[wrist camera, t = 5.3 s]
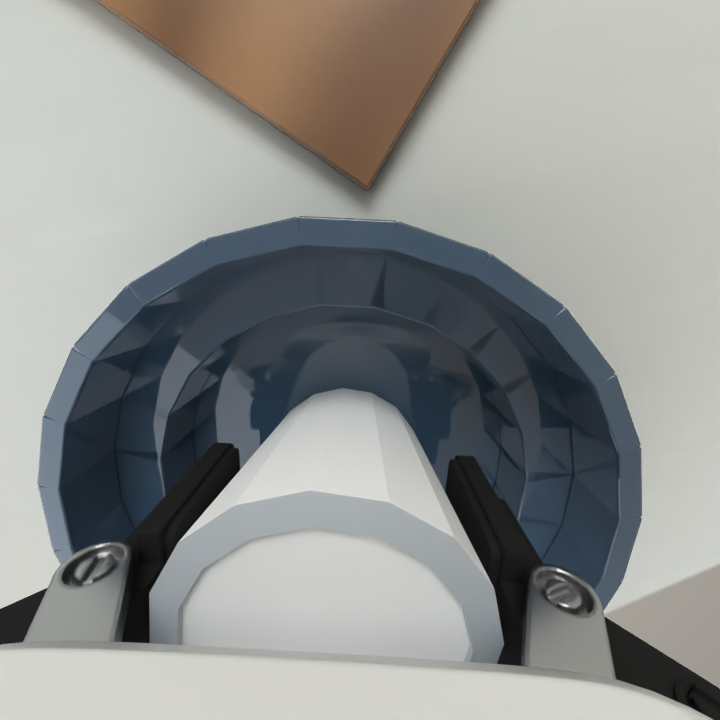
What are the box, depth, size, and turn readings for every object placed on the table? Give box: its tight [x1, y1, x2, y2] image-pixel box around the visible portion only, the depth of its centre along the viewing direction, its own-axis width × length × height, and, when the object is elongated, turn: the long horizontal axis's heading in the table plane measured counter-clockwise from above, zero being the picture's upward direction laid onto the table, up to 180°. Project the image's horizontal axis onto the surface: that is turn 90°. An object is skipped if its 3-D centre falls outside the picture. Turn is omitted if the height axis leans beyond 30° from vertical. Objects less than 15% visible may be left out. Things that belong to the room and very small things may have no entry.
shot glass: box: [149, 388, 504, 664], centre depth 10 cm, size 7×7×7 cm
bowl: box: [38, 216, 642, 611], centre depth 11 cm, size 16×16×4 cm
